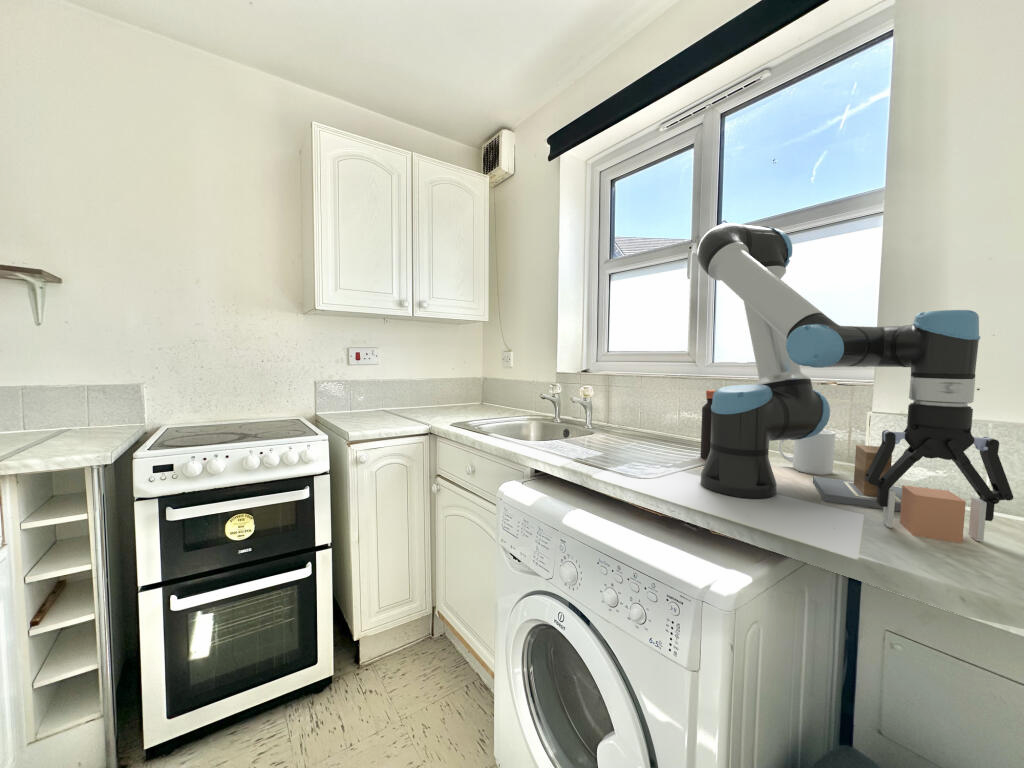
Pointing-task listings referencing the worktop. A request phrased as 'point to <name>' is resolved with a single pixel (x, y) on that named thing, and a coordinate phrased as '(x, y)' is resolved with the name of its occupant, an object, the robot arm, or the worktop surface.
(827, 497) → the baseboard
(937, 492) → the cap cube
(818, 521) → the worktop surface
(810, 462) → the mug
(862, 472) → the tall cardboard box
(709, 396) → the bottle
